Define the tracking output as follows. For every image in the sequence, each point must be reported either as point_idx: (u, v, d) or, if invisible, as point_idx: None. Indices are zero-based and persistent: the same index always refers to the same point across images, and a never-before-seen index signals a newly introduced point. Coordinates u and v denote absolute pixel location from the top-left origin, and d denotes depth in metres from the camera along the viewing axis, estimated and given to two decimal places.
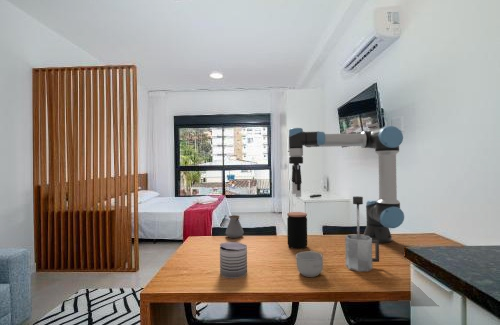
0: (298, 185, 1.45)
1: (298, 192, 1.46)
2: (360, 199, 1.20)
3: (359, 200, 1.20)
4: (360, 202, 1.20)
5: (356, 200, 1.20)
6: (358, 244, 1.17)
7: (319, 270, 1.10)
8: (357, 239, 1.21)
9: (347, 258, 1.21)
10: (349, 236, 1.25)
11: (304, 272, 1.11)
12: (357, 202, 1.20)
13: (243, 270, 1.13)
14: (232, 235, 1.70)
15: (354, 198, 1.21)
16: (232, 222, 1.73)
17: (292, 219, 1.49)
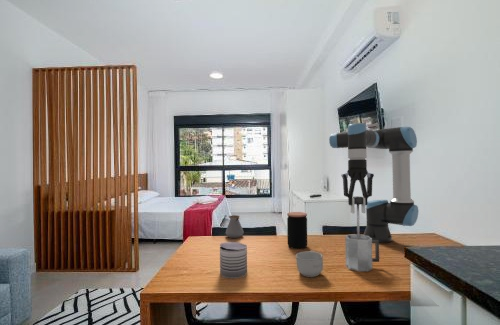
0: (348, 199, 1.22)
1: (351, 207, 1.22)
2: (360, 199, 1.20)
3: (359, 200, 1.20)
4: (360, 202, 1.20)
5: (356, 200, 1.20)
6: (358, 244, 1.17)
7: (319, 270, 1.10)
8: (357, 239, 1.21)
9: (347, 258, 1.21)
10: (349, 236, 1.25)
11: (304, 272, 1.11)
12: (357, 202, 1.20)
13: (243, 270, 1.13)
14: (232, 235, 1.70)
15: (354, 198, 1.21)
16: (232, 222, 1.73)
17: (292, 219, 1.49)
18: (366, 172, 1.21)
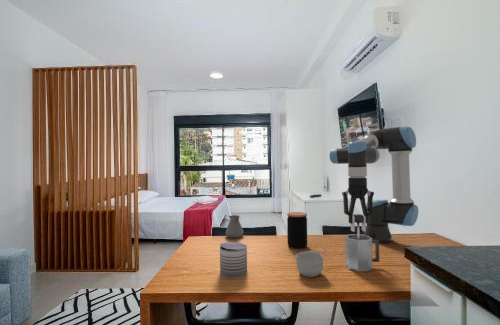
0: None
1: (351, 225, 1.22)
2: (360, 217, 1.20)
3: (359, 218, 1.20)
4: (360, 220, 1.20)
5: (356, 218, 1.20)
6: (358, 244, 1.17)
7: (319, 270, 1.10)
8: None
9: (347, 258, 1.21)
10: (349, 236, 1.25)
11: (304, 272, 1.11)
12: (357, 220, 1.20)
13: (243, 270, 1.13)
14: (232, 235, 1.70)
15: None
16: (232, 222, 1.73)
17: (292, 219, 1.49)
18: (366, 190, 1.21)
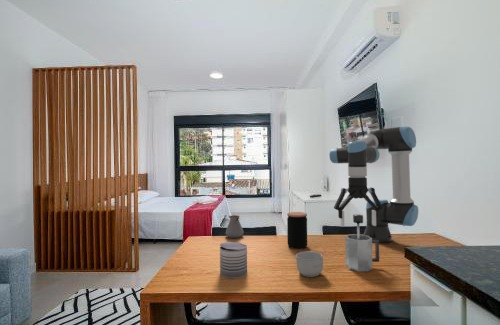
0: (338, 212, 1.22)
1: (341, 220, 1.22)
2: (360, 218, 1.20)
3: (359, 219, 1.20)
4: (360, 221, 1.20)
5: (356, 219, 1.20)
6: (358, 244, 1.17)
7: (319, 270, 1.10)
8: None
9: (347, 258, 1.21)
10: (349, 236, 1.25)
11: (304, 272, 1.11)
12: (357, 221, 1.20)
13: (243, 270, 1.13)
14: (232, 235, 1.70)
15: (354, 217, 1.21)
16: (232, 222, 1.73)
17: (292, 219, 1.49)
18: (366, 189, 1.21)
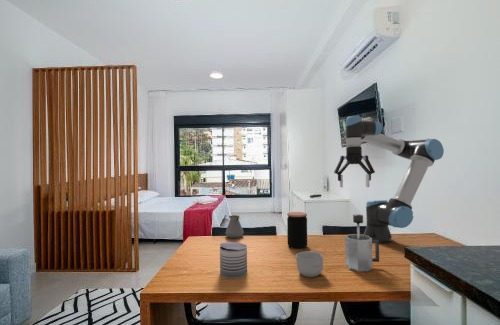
0: (338, 175, 1.46)
1: (340, 182, 1.46)
2: (360, 218, 1.20)
3: (359, 219, 1.20)
4: (360, 221, 1.20)
5: (356, 219, 1.20)
6: (358, 244, 1.17)
7: (319, 270, 1.10)
8: None
9: (347, 258, 1.21)
10: (349, 236, 1.25)
11: (304, 272, 1.11)
12: (357, 221, 1.20)
13: (243, 270, 1.13)
14: (232, 235, 1.70)
15: (354, 217, 1.21)
16: (232, 222, 1.73)
17: (292, 219, 1.49)
18: (361, 156, 1.45)
